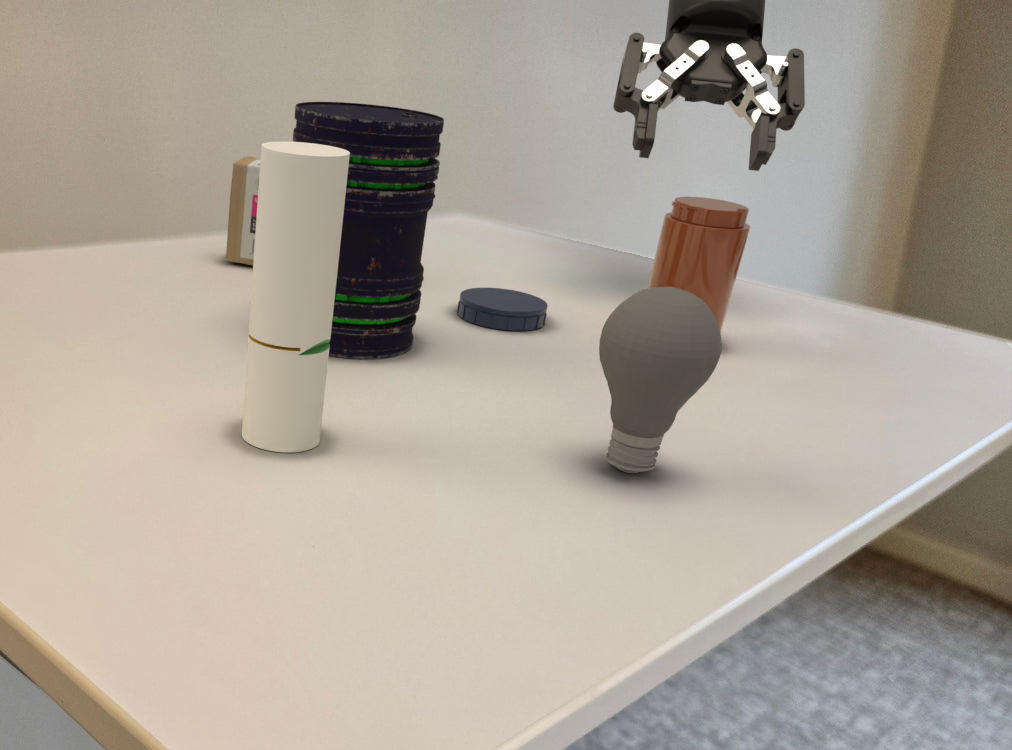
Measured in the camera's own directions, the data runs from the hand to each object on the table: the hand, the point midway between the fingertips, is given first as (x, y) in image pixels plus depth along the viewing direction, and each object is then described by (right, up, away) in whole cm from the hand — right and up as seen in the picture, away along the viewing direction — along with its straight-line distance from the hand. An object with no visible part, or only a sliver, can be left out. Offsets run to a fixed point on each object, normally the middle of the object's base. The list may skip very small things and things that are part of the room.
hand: (701, 157), depth 85 cm
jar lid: (-16, -12, -1) cm, 20 cm away
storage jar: (-29, -16, -8) cm, 34 cm away
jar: (-3, -15, -2) cm, 15 cm away
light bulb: (-14, -27, -26) cm, 40 cm away
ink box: (-33, -7, +8) cm, 34 cm away
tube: (-33, -25, -26) cm, 49 cm away
